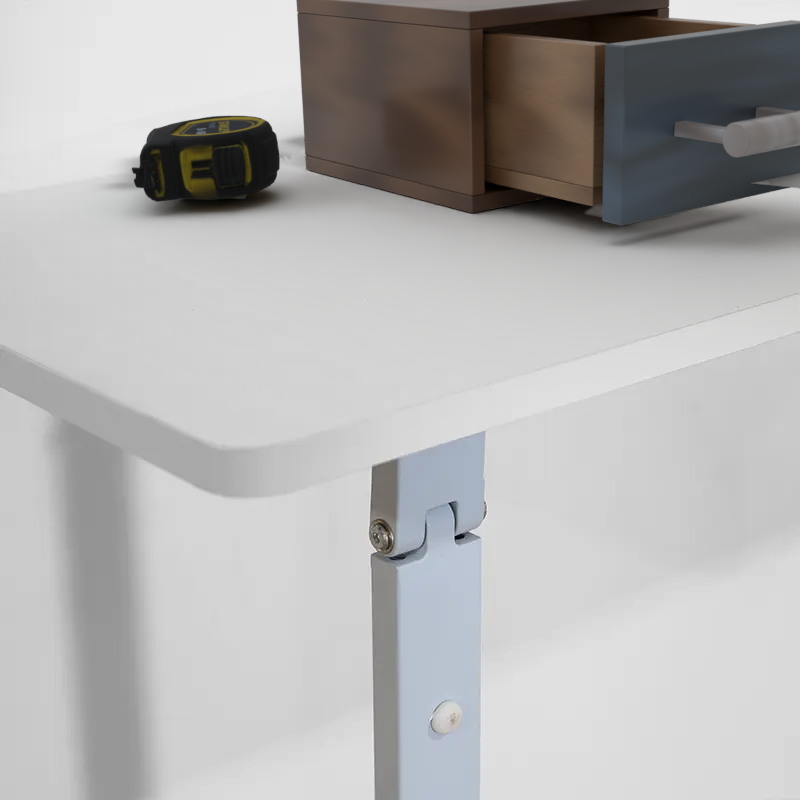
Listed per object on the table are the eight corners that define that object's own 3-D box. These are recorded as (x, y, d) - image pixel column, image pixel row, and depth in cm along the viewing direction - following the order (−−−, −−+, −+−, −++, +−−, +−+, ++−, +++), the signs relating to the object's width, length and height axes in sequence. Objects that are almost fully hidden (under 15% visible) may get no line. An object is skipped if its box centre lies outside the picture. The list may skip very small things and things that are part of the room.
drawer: (879, 199, 61) (894, 27, 58) (697, 244, 55) (705, 54, 52) (598, 147, 74) (600, 6, 72) (426, 179, 68) (422, 25, 66)
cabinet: (664, 174, 72) (670, -10, 68) (472, 213, 65) (469, 11, 62) (485, 139, 83) (483, -20, 80) (305, 169, 76) (295, -4, 73)
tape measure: (152, 188, 73) (145, 116, 72) (283, 181, 73) (278, 109, 72) (136, 218, 66) (128, 139, 65) (280, 210, 67) (275, 132, 65)
